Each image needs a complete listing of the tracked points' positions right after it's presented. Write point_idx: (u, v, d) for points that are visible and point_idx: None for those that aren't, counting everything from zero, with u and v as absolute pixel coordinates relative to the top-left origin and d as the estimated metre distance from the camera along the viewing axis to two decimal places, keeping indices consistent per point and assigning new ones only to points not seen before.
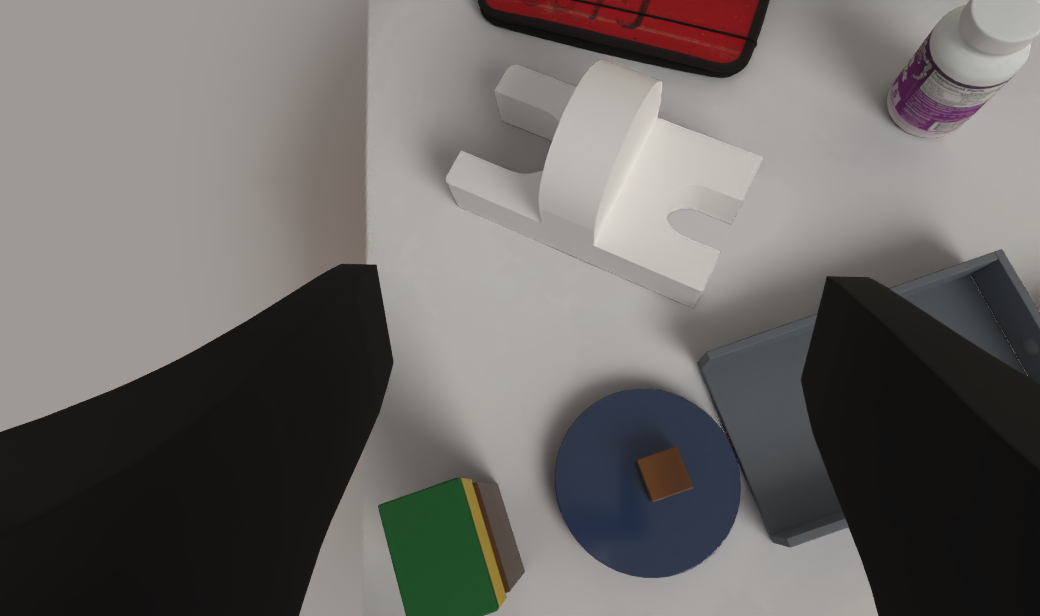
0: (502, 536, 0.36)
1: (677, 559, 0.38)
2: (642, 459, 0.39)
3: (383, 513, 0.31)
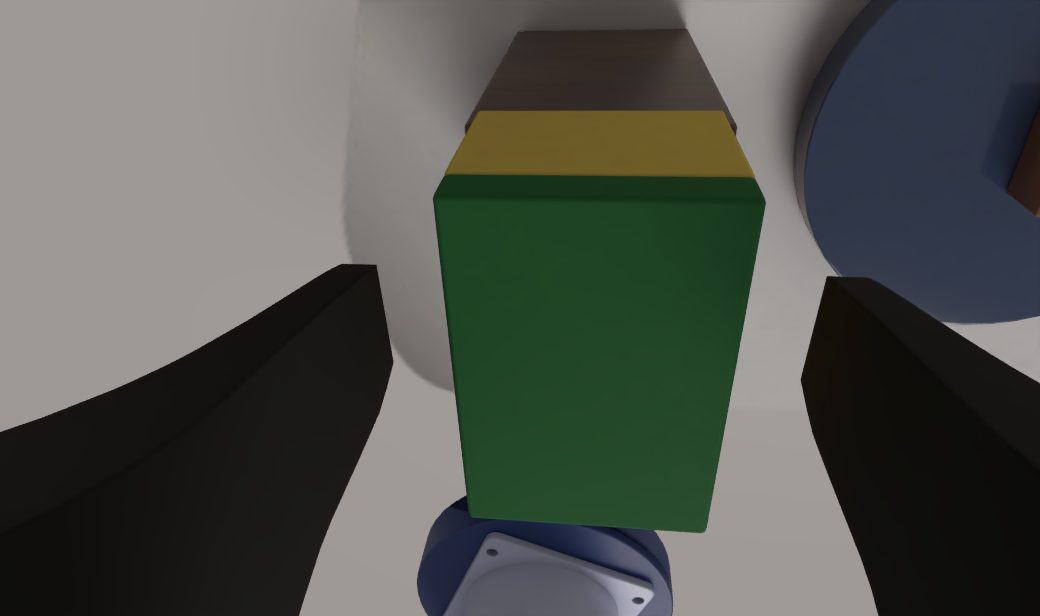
0: None
1: (972, 304, 0.19)
2: None
3: (449, 228, 0.08)
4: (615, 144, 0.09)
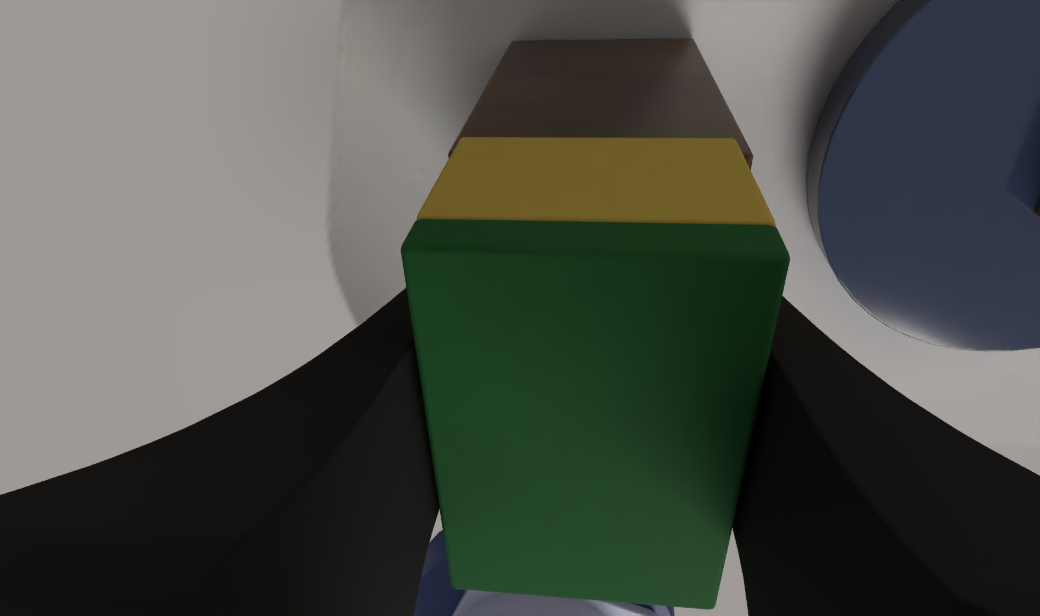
0: None
1: (995, 330, 0.18)
2: None
3: (420, 283, 0.07)
4: (613, 180, 0.08)
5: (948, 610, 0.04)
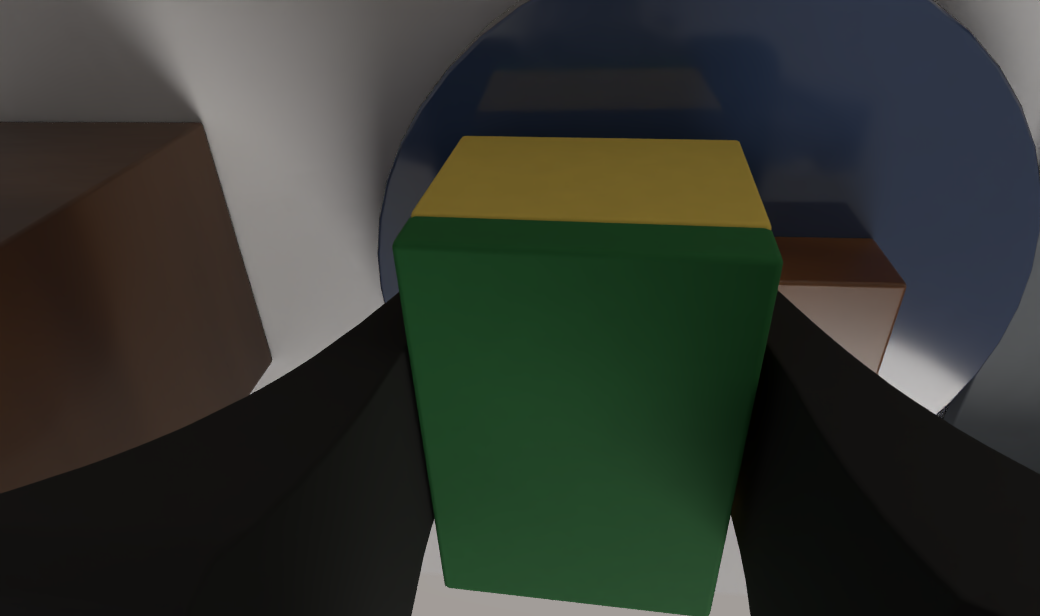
0: (89, 435, 0.10)
1: None
2: None
3: (411, 280, 0.07)
4: (611, 181, 0.08)
5: (953, 610, 0.04)
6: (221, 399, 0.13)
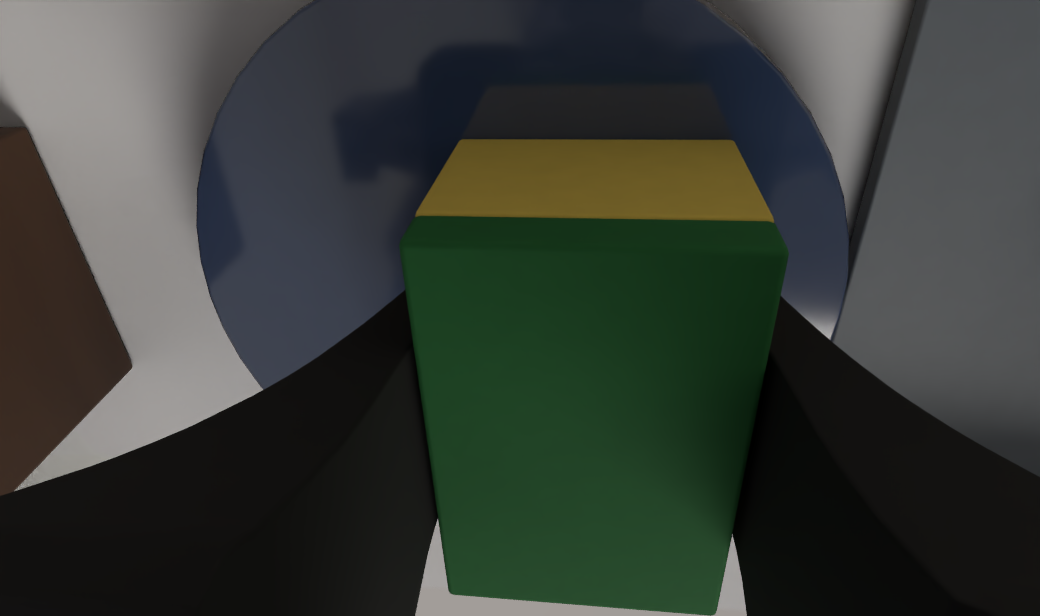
0: None
1: None
2: None
3: (418, 280, 0.07)
4: (612, 179, 0.08)
5: (945, 610, 0.04)
6: (58, 407, 0.13)
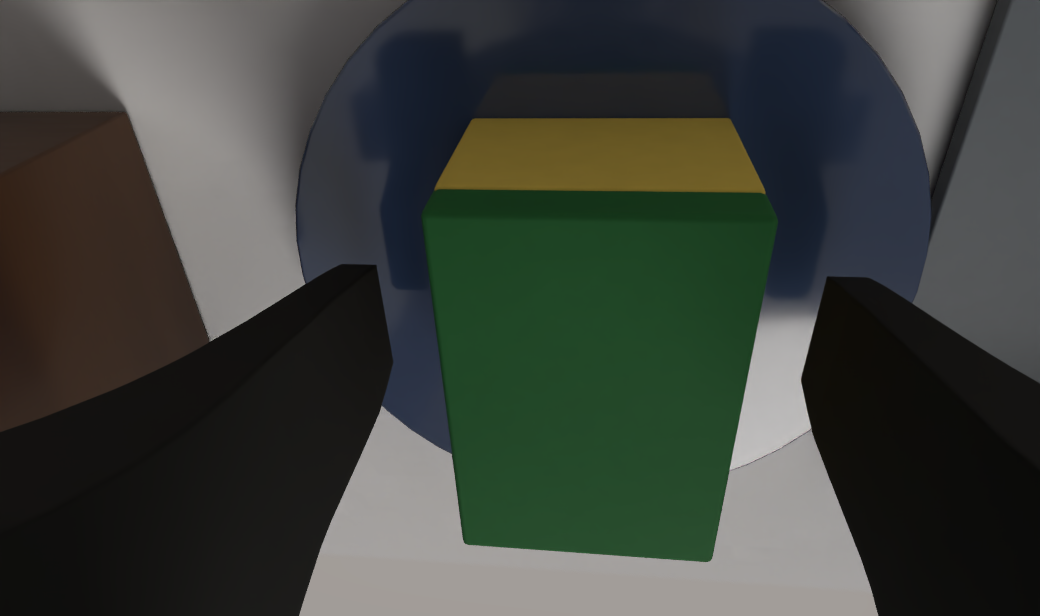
0: None
1: None
2: None
3: (438, 247, 0.08)
4: (616, 155, 0.09)
5: None
6: None
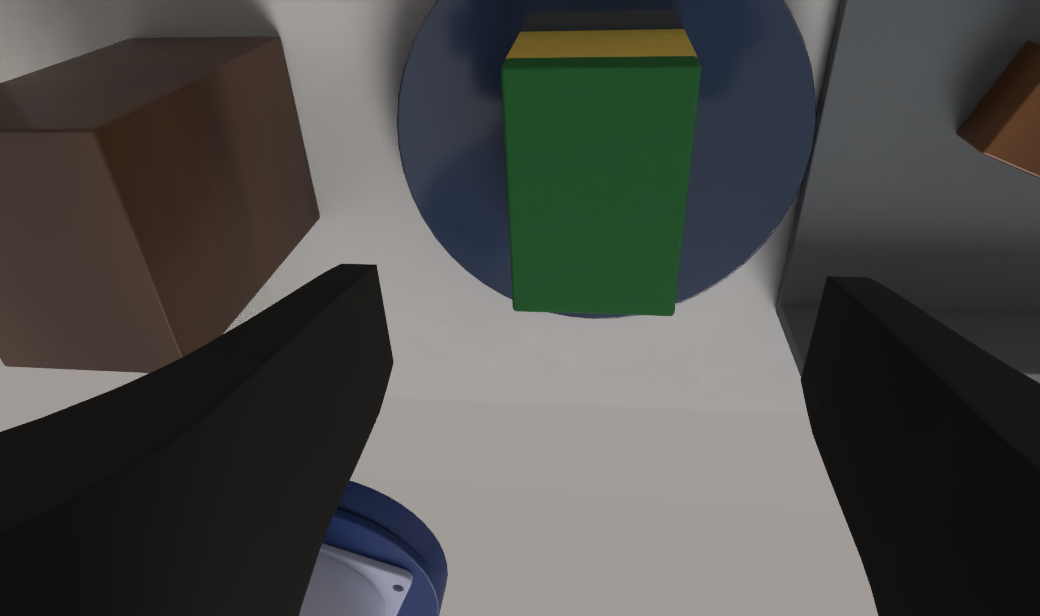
0: (224, 214, 0.16)
1: None
2: None
3: (510, 88, 0.14)
4: (612, 44, 0.15)
5: None
6: (290, 228, 0.19)
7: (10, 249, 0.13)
